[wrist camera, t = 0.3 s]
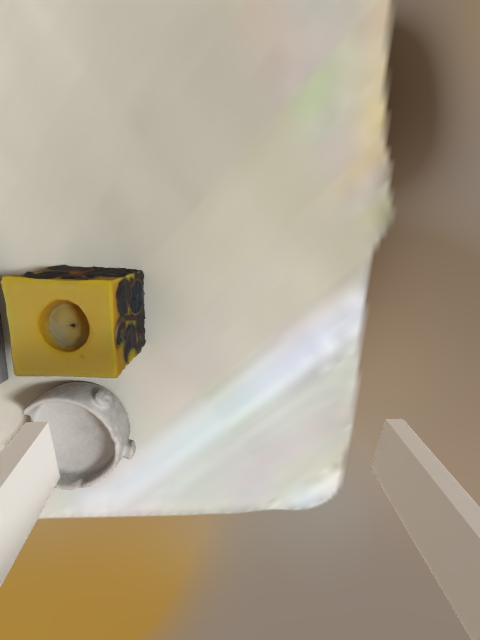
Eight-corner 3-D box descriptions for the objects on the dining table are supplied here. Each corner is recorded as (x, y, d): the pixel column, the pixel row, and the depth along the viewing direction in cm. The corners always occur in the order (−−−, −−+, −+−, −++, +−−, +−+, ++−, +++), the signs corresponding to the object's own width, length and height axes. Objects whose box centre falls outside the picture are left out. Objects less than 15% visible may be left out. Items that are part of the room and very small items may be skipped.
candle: (68, 343, 39) (11, 378, 29) (59, 264, 36) (-6, 274, 26) (147, 346, 39) (117, 383, 29) (144, 268, 36) (111, 280, 26)
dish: (49, 467, 44) (26, 496, 39) (22, 382, 40) (-8, 402, 35) (146, 459, 44) (135, 487, 39) (128, 373, 40) (113, 391, 35)
